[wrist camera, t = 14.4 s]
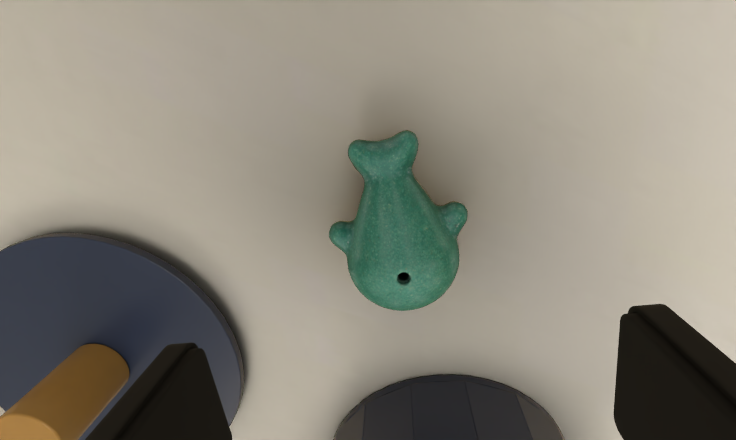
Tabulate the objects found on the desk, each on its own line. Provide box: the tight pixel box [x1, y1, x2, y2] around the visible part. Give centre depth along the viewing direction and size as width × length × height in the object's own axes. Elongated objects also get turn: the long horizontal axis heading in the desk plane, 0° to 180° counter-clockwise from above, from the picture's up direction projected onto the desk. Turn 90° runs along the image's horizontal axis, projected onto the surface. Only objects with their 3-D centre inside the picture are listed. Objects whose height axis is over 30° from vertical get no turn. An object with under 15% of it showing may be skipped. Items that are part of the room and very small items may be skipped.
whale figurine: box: [329, 130, 468, 311], centre depth 16 cm, size 6×7×4 cm
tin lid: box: [0, 233, 244, 440], centre depth 19 cm, size 15×15×6 cm
